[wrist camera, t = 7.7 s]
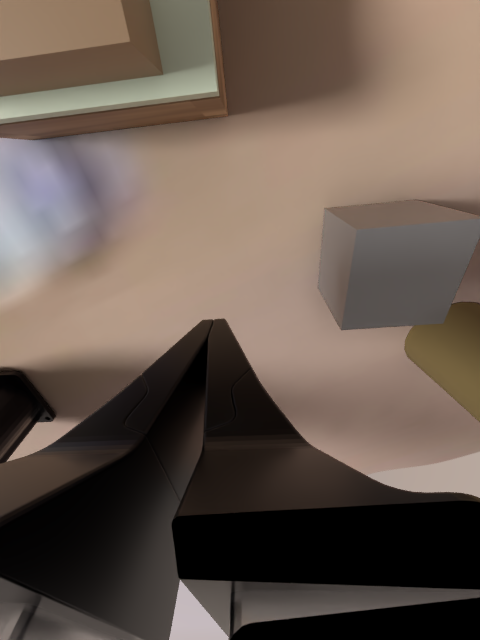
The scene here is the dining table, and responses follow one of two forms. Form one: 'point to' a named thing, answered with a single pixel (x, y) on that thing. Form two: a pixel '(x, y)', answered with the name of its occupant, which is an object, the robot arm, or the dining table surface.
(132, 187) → the dining table surface
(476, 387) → the pepper shaker
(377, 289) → the cube
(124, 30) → the lid
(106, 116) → the box
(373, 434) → the dining table surface
